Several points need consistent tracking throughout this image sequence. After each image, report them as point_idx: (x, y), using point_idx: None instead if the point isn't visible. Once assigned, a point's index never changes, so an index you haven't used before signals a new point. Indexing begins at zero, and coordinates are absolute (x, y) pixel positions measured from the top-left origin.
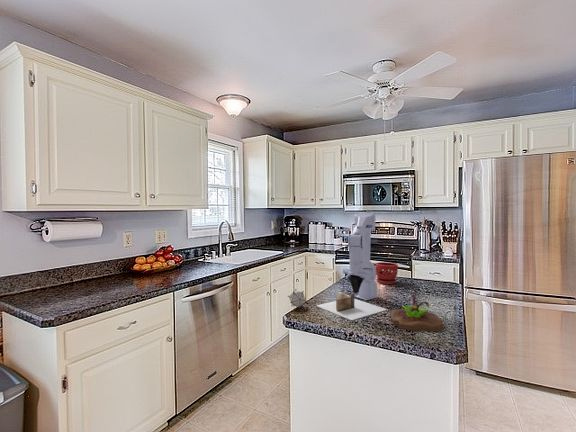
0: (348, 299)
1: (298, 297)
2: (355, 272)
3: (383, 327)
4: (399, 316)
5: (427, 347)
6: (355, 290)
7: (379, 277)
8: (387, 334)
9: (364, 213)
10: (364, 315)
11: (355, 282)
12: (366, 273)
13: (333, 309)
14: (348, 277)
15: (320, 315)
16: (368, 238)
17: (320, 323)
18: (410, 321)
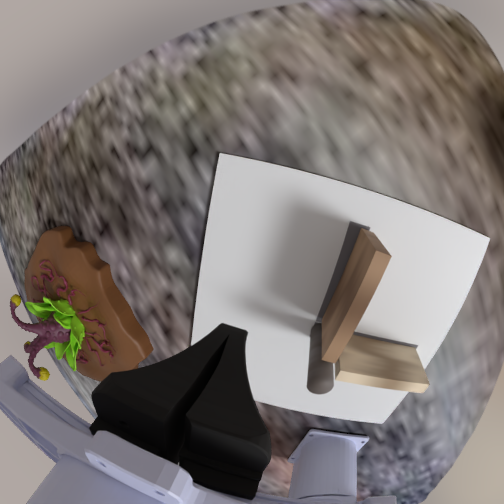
0: (331, 333)
1: None
2: (68, 464)
3: (94, 189)
4: (85, 294)
5: (8, 157)
6: (211, 332)
7: None
8: (66, 143)
9: None
10: (208, 260)
11: (154, 370)
12: (40, 447)
13: (395, 240)
14: (253, 437)
15: (403, 112)
16: None
17: (322, 18)
18: (44, 260)
